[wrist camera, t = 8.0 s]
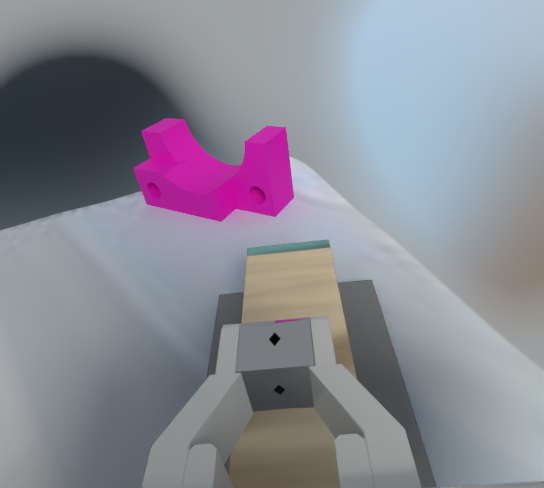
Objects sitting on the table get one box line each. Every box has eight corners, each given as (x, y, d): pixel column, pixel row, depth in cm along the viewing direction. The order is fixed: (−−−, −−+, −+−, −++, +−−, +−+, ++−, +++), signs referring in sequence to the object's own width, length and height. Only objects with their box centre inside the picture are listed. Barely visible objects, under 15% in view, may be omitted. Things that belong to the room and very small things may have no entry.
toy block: (147, 205, 42) (122, 140, 38) (184, 179, 46) (166, 118, 42) (262, 232, 35) (248, 156, 31) (293, 199, 39) (285, 127, 35)
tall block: (381, 498, 12) (328, 239, 23) (226, 507, 13) (247, 248, 24) (376, 550, 15) (331, 298, 26) (251, 555, 16) (259, 304, 27)
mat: (550, 865, 10) (555, 868, 10) (139, 857, 11) (132, 861, 10) (371, 284, 28) (371, 279, 27) (221, 299, 28) (219, 294, 28)
